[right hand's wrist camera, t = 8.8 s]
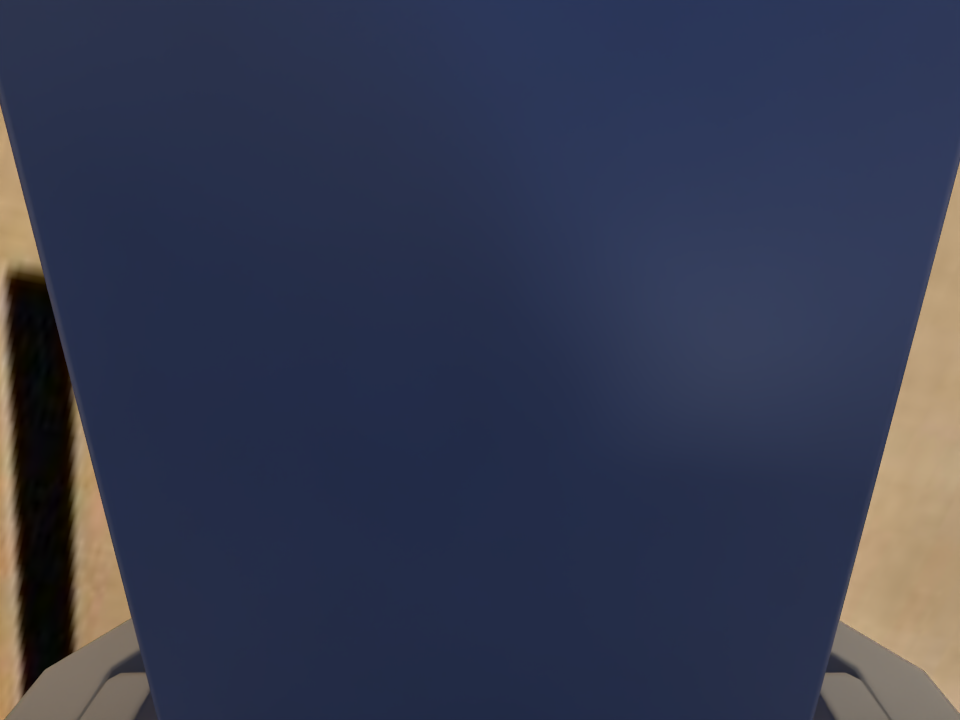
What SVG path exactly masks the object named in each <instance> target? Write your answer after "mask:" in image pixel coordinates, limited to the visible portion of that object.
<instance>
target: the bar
mask: <svg viewBox="0 0 960 720" xmlns="http://www.w3.org/2000/svg"><path fill="white" fill-rule="evenodd" d="M0 105H1V109H2V113H3V117H4V121H5V124H6V128H7V132H8V136H9V140H10V144H11V148H12V152H13V156H14V160H15V164H16V167H17V171H18V175H19V179H20V183H21V187H22V191H23V195H24V199H25V203H26V207H27V210H28V214H29V218H30V222H31V226H32V230H33V234H34V238H35V242H36V246H37V250H38V254H39V257H40V261H41V265H42V269H43V273H44V277H45V281H46V285H47V289H48V293H49V297H50V300H51V304H52V308H53V312H54V316H55V320H56V324H57V328H58V332H59V336H60V340H61V343H62V347H63V351H64V355H65V359H66V363H67V367H68V371H69V375H70V379H71V383H72V386H73V390H74V394H75V398H76V402H77V406H78V410H79V414H80V418H81V422H82V426H83V430H84V433H85V437H86V441H87V445H88V449H89V453H90V457H91V461H92V465H93V469H94V473H95V476H96V480H97V484H98V488H99V492H100V496H101V500H102V504H103V508H104V512H105V516H106V519H107V523H108V527H109V531H110V535H111V539H112V543H113V547H114V551H115V555H116V559H117V562H118V566H119V570H120V574H121V578H122V582H123V586H124V590H125V594H126V598H127V602H128V606H129V609H130V613H131V617H132V621H133V625H134V629H135V633H136V637H137V641H138V645H139V649H140V652H141V656H142V660H143V664H144V668H145V672H146V676H147V680H148V684H149V688H150V692H151V695H152V699H153V703H154V707H155V711H156V715H157V719H158V720H813V718H814V714H815V710H816V707H817V703H818V699H819V695H820V691H821V688H822V684H823V680H824V676H825V672H826V669H827V665H828V661H829V657H830V653H831V649H832V646H833V642H834V638H835V634H836V630H837V627H838V623H839V619H840V615H841V611H842V608H843V604H844V600H845V596H846V592H847V589H848V585H849V581H850V577H851V573H852V570H853V566H854V562H855V558H856V554H857V550H858V547H859V543H860V539H861V535H862V531H863V528H864V524H865V520H866V516H867V512H868V509H869V505H870V501H871V497H872V493H873V490H874V486H875V482H876V478H877V474H878V471H879V467H880V463H881V459H882V455H883V452H884V448H885V444H886V440H887V436H888V432H889V429H890V425H891V421H892V417H893V413H894V410H895V406H896V402H897V398H898V394H899V391H900V387H901V383H902V379H903V375H904V372H905V368H906V364H907V360H908V356H909V353H910V349H911V345H912V341H913V337H914V333H915V330H916V326H917V322H918V318H919V314H920V311H921V307H922V303H923V299H924V295H925V292H926V288H927V284H928V280H929V276H930V273H931V269H932V265H933V261H934V257H935V254H936V250H937V246H938V242H939V238H940V235H941V231H942V227H943V223H944V219H945V215H946V212H947V208H948V204H949V200H950V196H951V193H952V189H953V185H954V181H955V177H956V174H957V170H958V166H959V162H960V0H0Z"/></svg>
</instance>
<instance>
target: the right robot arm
mask: <svg viewBox="0 0 960 720" xmlns="http://www.w3.org/2000/svg"><path fill="white" fill-rule="evenodd" d="M4 720H158V719H157V715H156V711H155V707H154V703H153V699H152V695H151V692H150V688H149V684H148V680H147V676H146V672H145V668H144V664H143V660H142V656H141V652H140V649H139V645H138V641H137V637H136V633H135V629H134V625H133V621H132V618H131V619H129V620H127V621H126V622H124V623H122V624H121V625H119V626H117V627H116V628H114V629H112V630H111V631H109V632H107V633H106V634H104V635H102V636H101V637H99V638H97V639H96V640H94V641H92V642H91V643H89V644H87V645H86V646H84V647H82V648H81V649H79V650H77V651H76V652H74V653H72V654H71V655H69V656H67V657H66V658H64V659H62V660H61V661H59V662H57V663H56V664H54V665H52V666H51V667H49V668H47V669H46V670H44V672H43V673H42V674H41V675H40V676H39V678H38V679H37V680H36V681H35V683H34V684H33V685H32V686H31V687H30V689H29V690H28V691H27V692H26V694H25V695H24V696H23V697H22V698H21V700H20V701H19V702H18V703H17V705H16V706H15V707H14V708H13V710H12V711H11V712H10V713H9V714H8V716H7V717H6V718H5V719H4ZM813 720H960V714H959V712H958V711H957V710H956V709H955V708H954V706H953V705H952V704H951V703H950V702H949V700H948V699H947V698H946V697H945V695H944V694H943V693H942V692H941V691H940V689H939V688H938V687H937V686H936V685H935V683H934V682H933V681H932V680H931V679H930V677H929V676H928V675H927V674H926V672H925V671H924V670H922V669H920V668H918V667H917V666H915V665H913V664H912V663H910V662H908V661H907V660H905V659H903V658H902V657H900V656H898V655H897V654H895V653H893V652H892V651H890V650H888V649H887V648H885V647H883V646H881V645H880V644H878V643H876V642H875V641H873V640H871V639H870V638H868V637H866V636H865V635H863V634H861V633H860V632H858V631H856V630H855V629H853V628H851V627H850V626H848V625H846V624H844V623H843V622H841V621H839V623H838V627H837V630H836V634H835V638H834V642H833V646H832V649H831V653H830V657H829V661H828V665H827V669H826V672H825V676H824V680H823V684H822V688H821V691H820V695H819V699H818V703H817V707H816V710H815V714H814V718H813Z"/></svg>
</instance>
